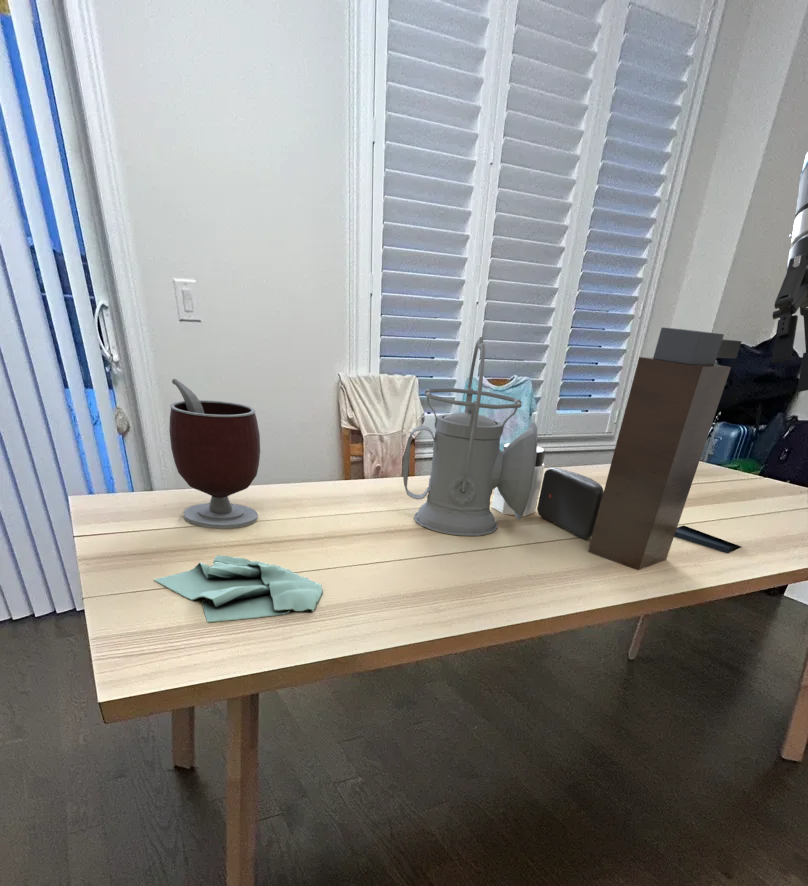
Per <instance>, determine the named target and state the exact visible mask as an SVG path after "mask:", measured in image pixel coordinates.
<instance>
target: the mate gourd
mask: <svg viewBox="0 0 808 886" xmlns="http://www.w3.org/2000/svg"><path fill="white" fill-rule="evenodd" d="M171 383H172V385H174V386H176V388H177V389H178V390H179V393H180V394H181V397H182V399H183V400H181V401H180V400H179V401H175V402H172V403H171V404H170V406H169V407H170V411H169V413H170V414H169V440H170V448H171V453H172V457H173V461H174V464H175V467H176V470H177V473H178V474H179V476H180V477H181V478H182V479H183V480H184V481H185V483H186V484H187V485H188V486H189V487H190V488H192V489H194V490H197V491H199V492H201V493H204V494H206V495H208V496H211V498H210V502H205V503H199V504H195V505H190V506H188V507H186V508H184V510H183V519H184V520H185V521H186V522H187V523H189V524H190V525H193V526H197V527H201V528H207V529H220V530H222V529H225V530H227V529H238V528H243V527H249V526H250V525H253V524H255V523H256V522H257V521H258V519H259V514H258V511H256V510H255V509H254V508H253V507H249V506H246V505H242V504H238V503H232V502H231V501H230V498H229V497H230V496H231V495H234V494H237V493H239V492H242V491H244V490H247V489H248V488H249V487H250V486H251V484H252V483H253V481H254V480H255V479H256V477H257V475H258V471H259V466H260V459H261V458H260V457H261V435H260V429H259V423H258V418H257V415H256V409H255V408H254V407H252V406H249V405H247V404H241V403H237V402H230V401H221V400H207V399H206V400H203V399H202V400H201V399H199V398H198V396H197V395H196V394H195V393H194V392H193V391H192V389H190V388H189V387H188V386H186V385H185V384H184V383H183V382H181V381H179V380H178V379H176V378H173V379H172V380H171Z"/></svg>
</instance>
